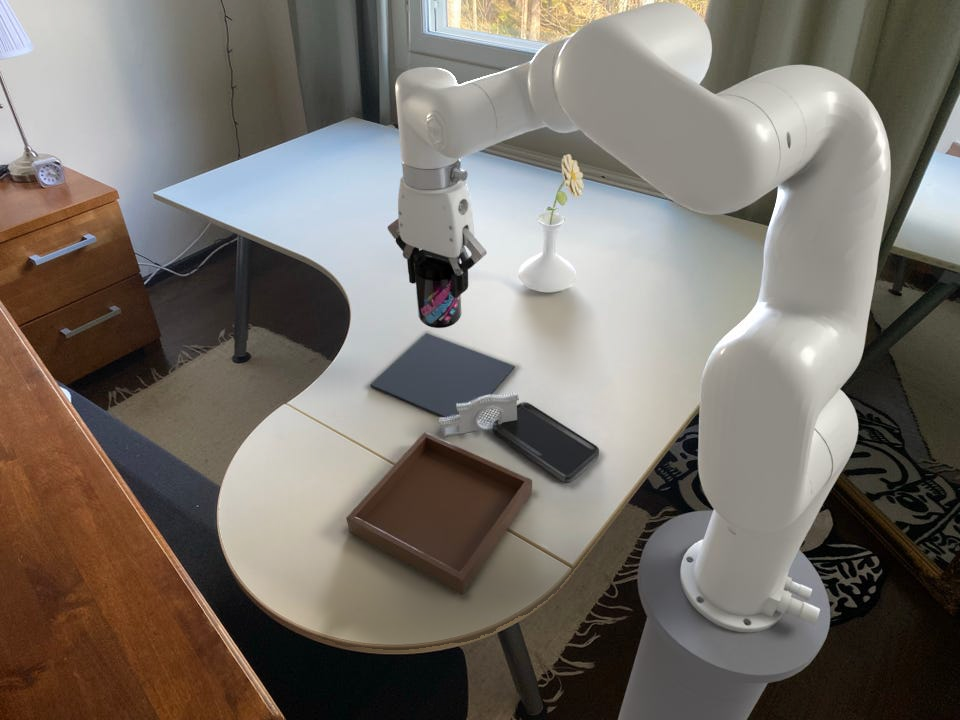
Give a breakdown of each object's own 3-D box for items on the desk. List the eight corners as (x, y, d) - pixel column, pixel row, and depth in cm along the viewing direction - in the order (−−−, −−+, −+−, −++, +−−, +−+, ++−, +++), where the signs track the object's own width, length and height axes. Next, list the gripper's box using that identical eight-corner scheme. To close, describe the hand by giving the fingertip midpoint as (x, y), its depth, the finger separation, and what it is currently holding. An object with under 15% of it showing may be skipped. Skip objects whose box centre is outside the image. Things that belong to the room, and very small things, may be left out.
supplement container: (411, 325, 100) (405, 265, 93) (427, 301, 105) (423, 242, 98) (453, 333, 98) (450, 273, 92) (468, 308, 103) (466, 249, 97)
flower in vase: (552, 305, 125) (561, 180, 109) (506, 283, 131) (508, 161, 115) (592, 277, 133) (606, 156, 117) (547, 257, 139) (554, 140, 123)
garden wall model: (442, 439, 99) (438, 409, 95) (439, 431, 100) (436, 401, 97) (519, 424, 101) (519, 394, 97) (516, 416, 102) (515, 386, 98)
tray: (531, 493, 91) (532, 479, 89) (463, 594, 79) (462, 580, 78) (425, 445, 98) (424, 431, 96) (348, 531, 86) (345, 517, 85)
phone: (524, 400, 104) (602, 449, 95) (523, 405, 104) (601, 454, 96) (489, 426, 99) (567, 480, 91) (489, 431, 100) (567, 485, 92)
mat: (514, 367, 111) (515, 365, 111) (464, 426, 101) (464, 424, 101) (426, 334, 119) (426, 333, 118) (370, 386, 108) (370, 384, 108)
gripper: (503, 174, 86) (502, 290, 97) (395, 148, 93) (405, 259, 104) (473, 197, 81) (475, 316, 92) (361, 168, 88) (375, 282, 99)
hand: (438, 285), depth 98 cm, fingers closed on supplement container, 6 cm apart
